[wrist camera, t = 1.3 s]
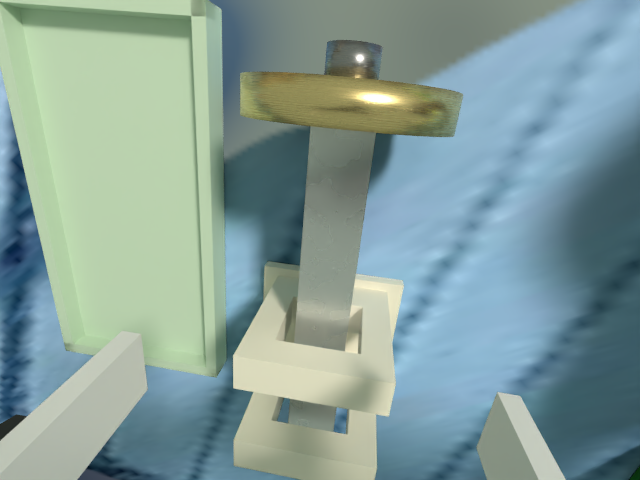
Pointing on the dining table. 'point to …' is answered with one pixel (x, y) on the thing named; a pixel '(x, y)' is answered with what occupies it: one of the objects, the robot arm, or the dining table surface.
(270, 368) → the double loop bracket
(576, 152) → the dining table surface
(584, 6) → the dining table surface
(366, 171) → the gold disc post
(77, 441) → the robot arm
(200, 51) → the tray
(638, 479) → the milk carton
